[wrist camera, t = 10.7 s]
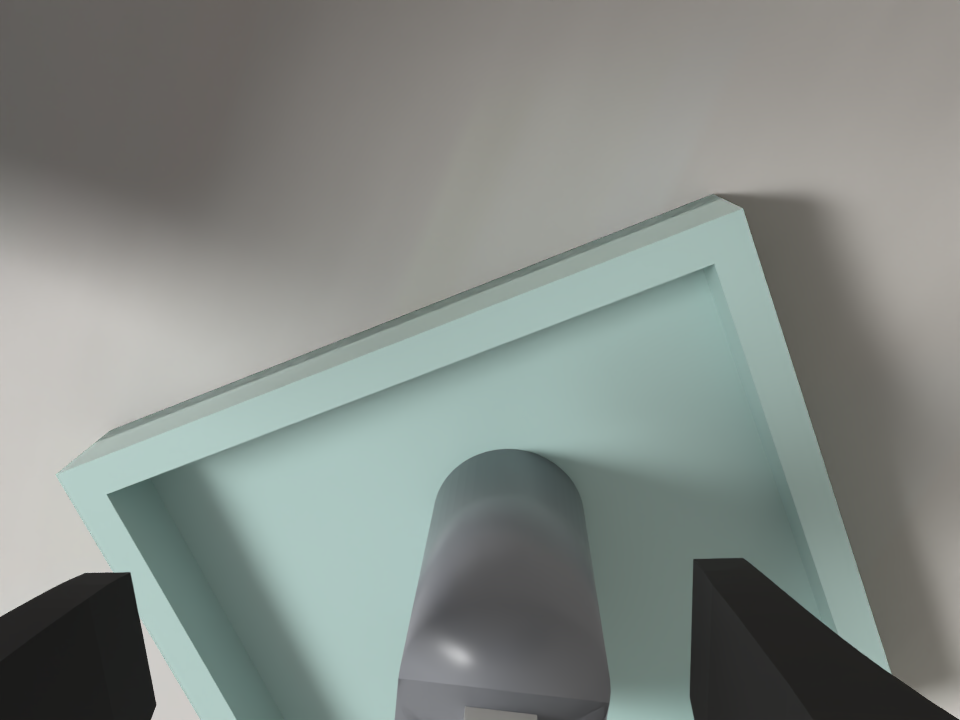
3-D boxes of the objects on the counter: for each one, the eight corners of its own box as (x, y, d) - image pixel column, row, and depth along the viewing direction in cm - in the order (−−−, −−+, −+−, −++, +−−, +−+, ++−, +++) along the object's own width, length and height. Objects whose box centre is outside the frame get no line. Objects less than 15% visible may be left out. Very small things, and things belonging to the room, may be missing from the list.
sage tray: (337, 835, 24) (317, 917, 21) (110, 430, 20) (55, 474, 18) (871, 677, 21) (915, 750, 19) (713, 193, 18) (742, 208, 16)
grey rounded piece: (417, 681, 21) (363, 985, 14) (440, 440, 19) (391, 648, 12) (557, 697, 21) (576, 1011, 14) (594, 457, 19) (639, 676, 12)
